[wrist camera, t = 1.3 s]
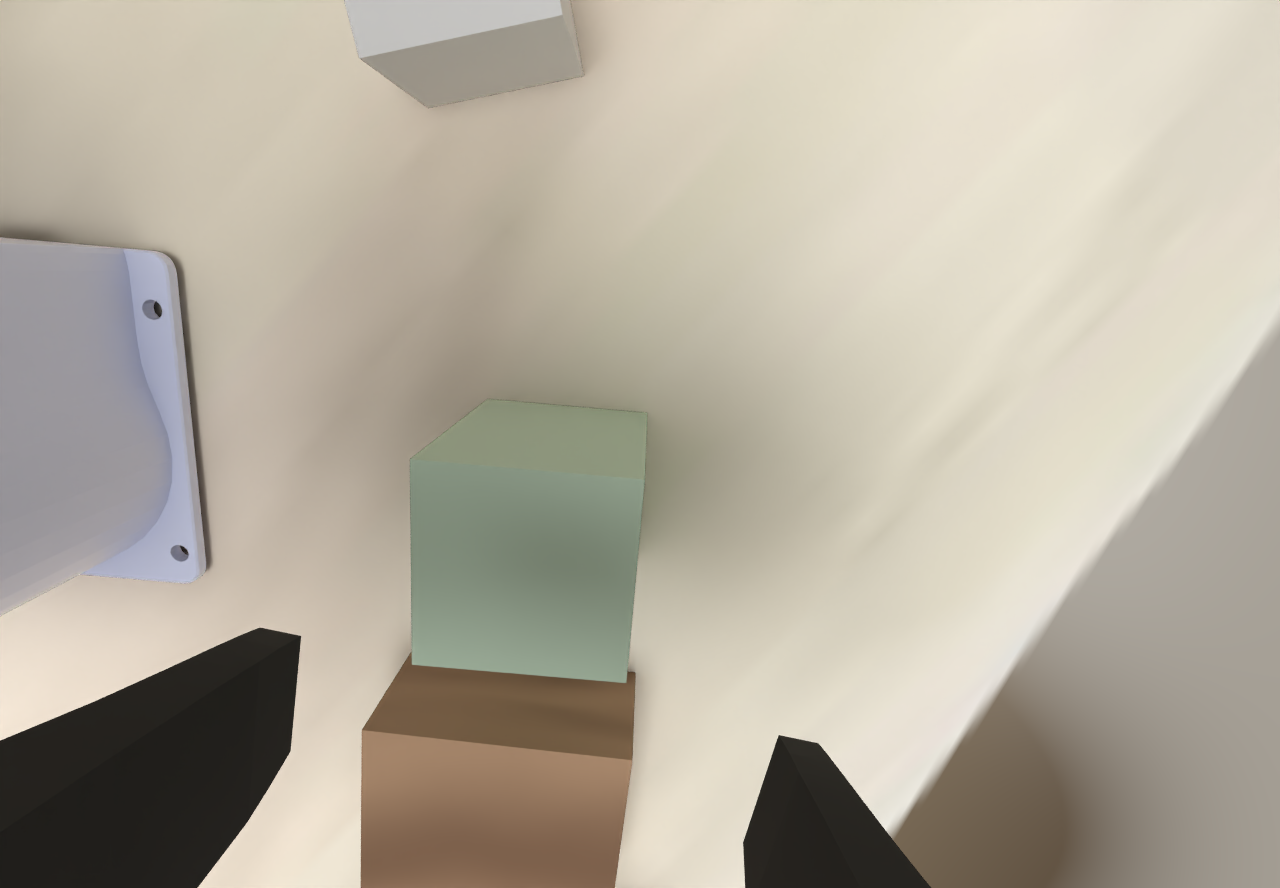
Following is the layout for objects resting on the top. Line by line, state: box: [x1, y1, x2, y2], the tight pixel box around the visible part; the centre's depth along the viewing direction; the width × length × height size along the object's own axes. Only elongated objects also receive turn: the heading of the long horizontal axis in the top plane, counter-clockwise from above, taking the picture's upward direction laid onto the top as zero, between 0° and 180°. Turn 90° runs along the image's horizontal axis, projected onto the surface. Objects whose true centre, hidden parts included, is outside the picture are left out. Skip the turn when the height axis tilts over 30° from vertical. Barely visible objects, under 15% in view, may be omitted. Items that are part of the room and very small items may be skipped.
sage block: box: [410, 399, 647, 683], centre depth 16 cm, size 4×4×6 cm
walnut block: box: [361, 652, 636, 888], centre depth 19 cm, size 7×7×4 cm
